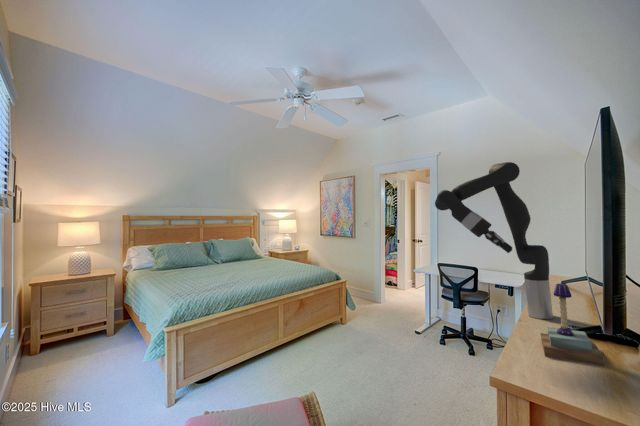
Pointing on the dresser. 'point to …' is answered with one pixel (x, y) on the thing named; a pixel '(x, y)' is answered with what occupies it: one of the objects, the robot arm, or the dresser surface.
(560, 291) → the toy lamp
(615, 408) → the dresser surface
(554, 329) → the brick stand
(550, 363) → the dresser surface
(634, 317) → the dresser surface
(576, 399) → the dresser surface
